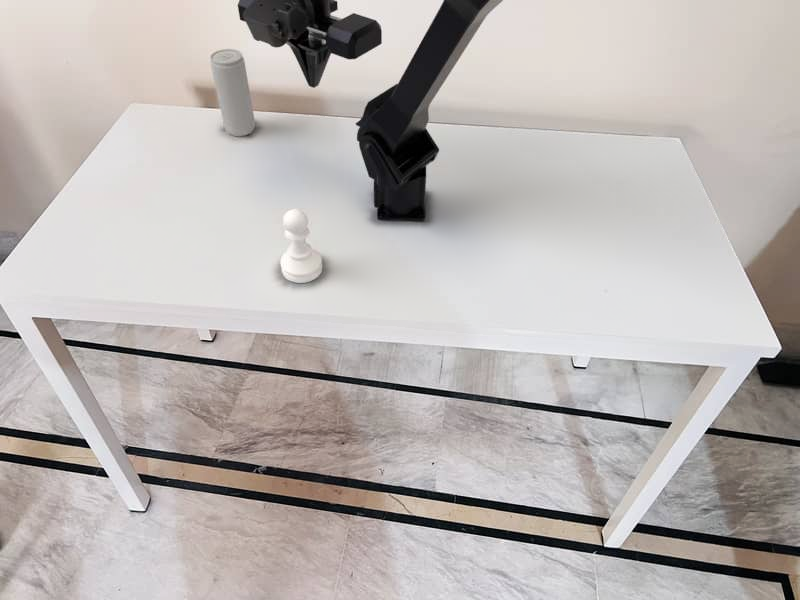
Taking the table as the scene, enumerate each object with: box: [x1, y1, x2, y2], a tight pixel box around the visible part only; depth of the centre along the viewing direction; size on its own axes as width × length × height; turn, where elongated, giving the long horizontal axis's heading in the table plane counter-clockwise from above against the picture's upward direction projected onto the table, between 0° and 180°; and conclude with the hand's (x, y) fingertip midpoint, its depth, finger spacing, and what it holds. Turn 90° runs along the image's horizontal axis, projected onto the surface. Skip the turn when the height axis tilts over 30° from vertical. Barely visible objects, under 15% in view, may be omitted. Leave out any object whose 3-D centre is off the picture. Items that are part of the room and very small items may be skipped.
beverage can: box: [209, 48, 256, 137], centre depth 92 cm, size 5×5×12 cm
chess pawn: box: [280, 208, 324, 284], centre depth 72 cm, size 5×5×9 cm
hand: (313, 86), depth 80 cm, fingers closed
